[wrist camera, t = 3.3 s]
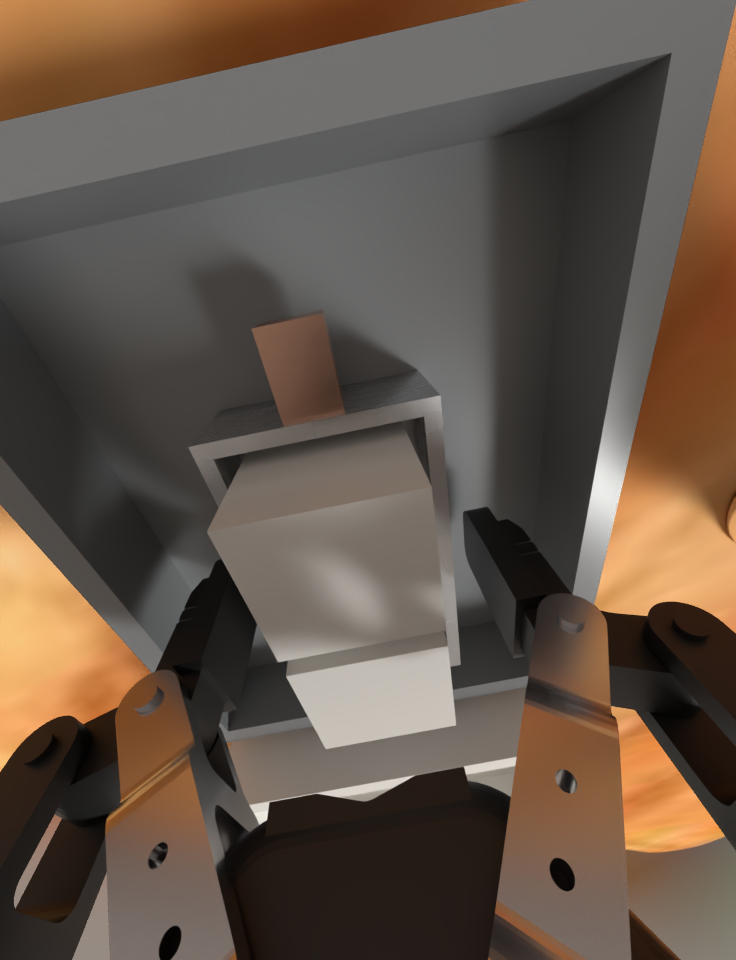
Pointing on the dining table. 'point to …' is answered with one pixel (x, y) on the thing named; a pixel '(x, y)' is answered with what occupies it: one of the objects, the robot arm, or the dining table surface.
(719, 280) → the dining table surface
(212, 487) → the scoop
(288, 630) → the light grey cube block
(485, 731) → the bin
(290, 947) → the robot arm
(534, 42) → the tray
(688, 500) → the dining table surface
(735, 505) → the silver metal goblet
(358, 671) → the off-white cube
